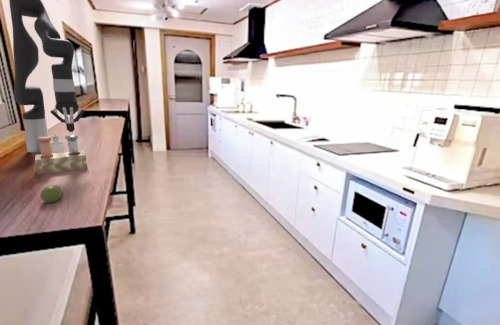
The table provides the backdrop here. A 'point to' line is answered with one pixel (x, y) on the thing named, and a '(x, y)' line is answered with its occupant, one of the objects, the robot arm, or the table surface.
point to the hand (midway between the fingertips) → (71, 131)
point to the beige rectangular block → (60, 162)
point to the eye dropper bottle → (57, 145)
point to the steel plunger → (72, 144)
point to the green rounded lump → (51, 193)
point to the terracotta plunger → (45, 146)
